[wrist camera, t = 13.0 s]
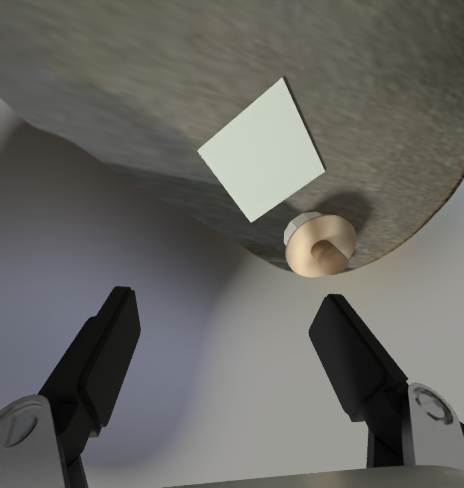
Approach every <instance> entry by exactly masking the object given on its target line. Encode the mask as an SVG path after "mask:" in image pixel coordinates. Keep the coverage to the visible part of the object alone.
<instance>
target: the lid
mask: <svg viewBox="0 0 464 488" xmlns="http://www.w3.org/2000/svg"><path fill="white" fill-rule="evenodd" d="M355 245H356V232H355V229H354V227H353V226H352V225H351V223H349V222H348V221H347V220H345V219H344V218H342V217H340V216H337V215H320V216H317V217H313V218H311V219H309V220H307V221H306V222H304V223H303V224H301V225H300V226H299V227H298V228H297V229H296V230H295V231H294V232H293V233H292V235H291V236H290V238H289V240H288V242H287V245H286V251H285V254H286V260H287V262H288V264H289V266H290V267H291V269H292V270H293V271H294V272H296V273H297V274H299V275H302V276H305V277H320V276H324V275H327V274H330V275H335V274H338V273H341V272H342V271H343V270H345V268H346V267H347V265H348V259H349V258H350V256H351V255H352V253H353V251H354V249H355Z"/></svg>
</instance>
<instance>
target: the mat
mask: <svg viewBox="0 0 464 488" xmlns="http://www.w3.org/2000/svg"><path fill="white" fill-rule="evenodd" d="M197 151H198V152H199V154H200V155H201V156H202V158H203V159H204V160H205V162H206V163H207V165H208V166H209V167H210V169H211V170H212V171H213V173H214V174H215V175H216V177H217V178H218V179H219V181H220V182H221V183H222V185H223V186H224V187H225V189H226V190H227V191H228V193H229V194H230V195H231V197H232V198H233V199H234V201H235V202H236V203H237V205H238V206H239V207H240V209H241V210H242V211H243V213H244V214H245V215H246V217H247V218H248V219H249V221H250V222H253V221H254V220H256V219H257V218H259V217H260V216H262V215H263V214H264V213H266V212H267V211H269V210H270V209H272V208H273V207H275V206H276V205H277V204H279V203H280V202H282V201H283V200H285V199H286V198H287V197H289V196H290V195H292V194H293V193H295V192H296V191H298V190H299V189H300V188H302V187H303V186H305V185H306V184H308V183H309V182H311V181H312V180H313V179H315V178H316V177H318V176H319V175H321V174H322V173H324V172H325V170H324V168H323V166H322V164H321V161H320V159H319V157H318V155H317V153H316V150H315V148H314V146H313V144H312V142H311V139H310V137H309V135H308V133H307V131H306V128H305V126H304V124H303V122H302V120H301V117H300V115H299V113H298V111H297V108H296V106H295V104H294V102H293V100H292V97H291V95H290V93H289V91H288V89H287V86H286V84H285V82H284V80H283V78H281V79H280V80H279V81H278V82H276V83H275V84H274V85H273V86H272V87H271V88H269V89H268V90H267V91H266V92H265V93H264V94H262V95H261V96H260V97H259V98H258V99H257V100H256V101H254V102H253V103H252V104H251V105H250V106H249V107H247V108H246V109H245V110H244V111H243V112H242V113H240V114H239V115H238V116H237V117H236V118H235V119H233V120H232V121H231V122H230V123H229V124H228V125H226V126H225V127H224V128H223V129H222V130H221V131H219V132H218V133H217V134H216V135H215V136H214V137H212V138H211V139H210V140H209V141H208V142H207V143H205V144H204V145H203V146H202V147H201V148H200V149H198V150H197Z"/></svg>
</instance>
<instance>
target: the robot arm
mask: <svg viewBox="0 0 464 488" xmlns="http://www.w3.org/2000/svg"><path fill="white" fill-rule="evenodd" d="M140 331H141V328H140V322H139V315H138V309H137V303H136V296H135V291H134V290H131V288H130V287H121V286H116V287H114V289H113V290H112V292H111V293H110V295H109V296H108V298H107V300H106V301H105V303H104V304H103V306H102V308H101V309H100V311H99V312H98V314H97V315H96V316H95V317H91V318H89V319H88V320H87V321H86V322H85V324H84V326H83V327H82V329H81V330H80V331H79V333H78V335H77V336H76V337H75V339H74V341H73V342H72V343H71V345H70V346H69V348H68V349H67V351H66V353H65V354H64V355H63V357H62V358H61V360H60V361H59V363H58V364H57V366H56V367H55V369H54V370H53V372H52V373H51V375H50V376H49V378H48V379H47V381H46V382H45V384H44V386H43V387H42V388H41V390H40V391H39V393H38V394H37V395H30V396H26V397H22V398H20V399H18V400H16V401H14V402H12V403H10V404H9V405H7V406H6V407H4V408H3V409H1V410H0V488H88V483H87V479H86V475H85V471H84V467H83V463H82V459H81V455H80V454H81V453H82V452H83V450H84V447H85V445H86V442H87V440H88V438H90V437H98V436H99V433H100V431H101V428H102V427H106V426H107V424H108V422H109V420H110V417H111V414H112V411H113V408H114V406H115V403H116V400H117V397H118V395H119V391H120V389H121V386H122V384H123V381H124V378H125V375H126V372H127V370H128V367H129V364H130V361H131V359H132V355H133V353H134V350H135V347H136V344H137V342H138V339H139V336H140ZM309 337H310V339H311V341H312V344H313V346H314V348H315V350H316V352H317V354H318V356H319V358H320V361H321V363H322V365H323V367H324V369H325V371H326V374H327V376H328V377H329V380H330V382H331V384H332V386H333V389H334V391H335V393H336V395H337V397H338V399H339V401H340V404H341V406H342V408H343V410H344V411H345V412H346V413H347V414H348V415H349V417H350V419H351V421H352V422H362V421H364V420H365V422H366V424H367V426H368V446H367V464H366V469H355V470H344V471H333V472H321V473H310V474H300V475H289V476H277V477H267V478H257V479H246V480H235V481H225V482H215V483H204V484H194V485H184V486H174V487H164V488H464V424H463V423H461V422H460V421H459V419H458V417H457V415H456V413H455V411H454V410H453V408H452V407H451V406H450V404H449V403H448V402H447V401H446V400H445V399H444V398H443V397H442V396H440V395H439V394H438V393H437V392H436V391H434V390H432V389H431V388H429V387H427V386H425V385H423V384H420V383H412V384H410V385H408V384H407V382H406V381H407V380H408V378H407V377H406V375H405V374H404V373H403V371H402V370H401V369H400V368H399V366H398V365H397V364H396V363H395V361H394V360H393V359H392V358H391V356H390V355H389V354H388V352H387V351H386V350H385V349H384V347H383V346H382V345H381V344H380V342H379V341H378V340H377V338H376V337H375V336H374V335H373V334H372V332H371V331H370V329H369V328H368V327H367V326H366V324H365V323H364V322H363V321H362V319H361V318H360V317H359V315H358V314H357V313H356V312H355V310H354V309H353V308H352V307H351V306H350V304H349V303H348V302H347V300H346V299H345V298H344V296H342V295H341V294H328V295H327V297H325V298H324V300H323V302H322V304H321V306H320V308H319V310H318V312H317V314H316V316H315V318H314V321H313V323H312V325H311V327H310V329H309Z"/></svg>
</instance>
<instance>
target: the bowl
mask: <svg viewBox="0 0 464 488" xmlns="http://www.w3.org/2000/svg"><path fill="white" fill-rule="evenodd" d="M320 215H323V214H321V213H319V212H316V211H314V212H307V213H302V214H301V215H299V216H298V217H296V218H295V219H293V220H291V222H290V223H289V225H288V227H287V228H286V230H285V232H284V244H285V245H287V242H288V240H289V238H290V236H291V235H292V233H293V232H294V231H295V230H296V229H297V228H298V227H299V226H300V225H301V224H303V223H304V222H306V221H307V220H309V219H311V218H313V217H317V216H320Z"/></svg>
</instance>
